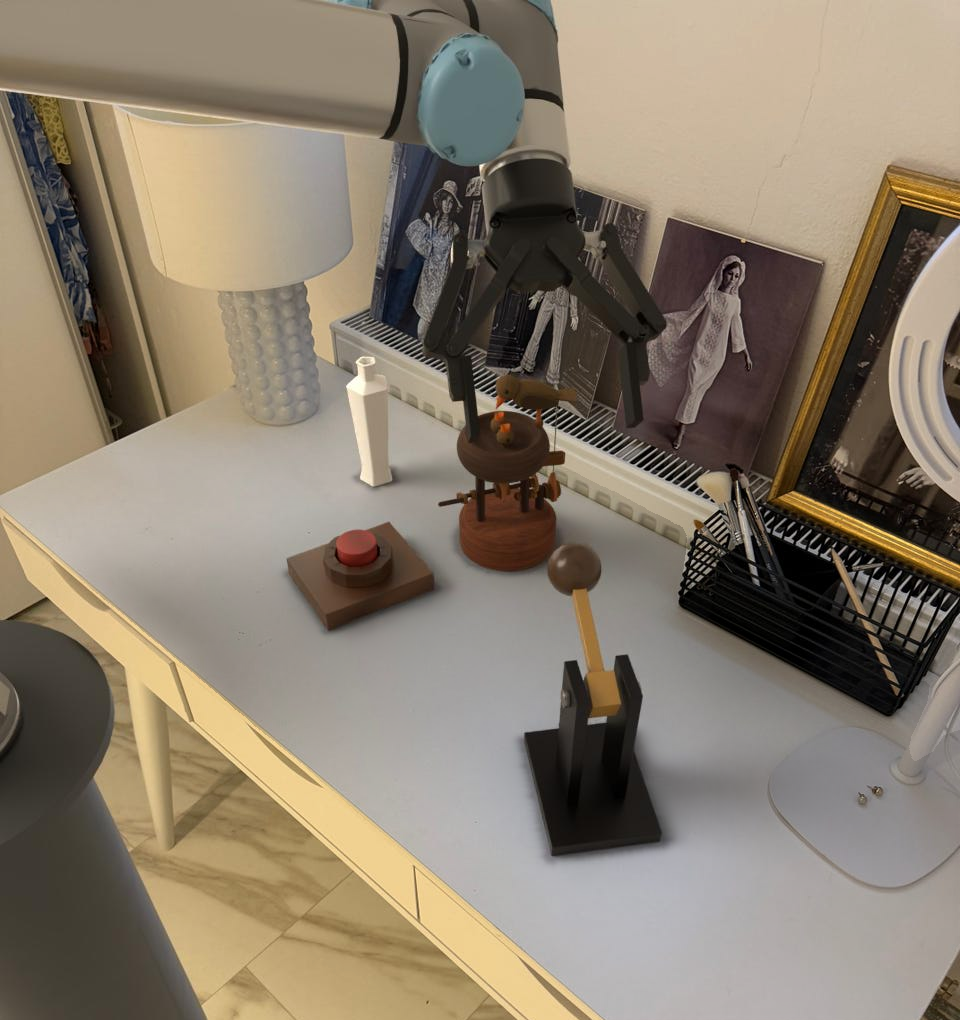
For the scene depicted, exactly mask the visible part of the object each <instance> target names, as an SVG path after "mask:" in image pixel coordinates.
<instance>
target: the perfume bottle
mask: <svg viewBox="0 0 960 1020" xmlns="http://www.w3.org/2000/svg"><path fill="white" fill-rule="evenodd" d="M355 364H356V365H357V376H355V377H354V378H353V379H351V381H349V382H348V384H346V392H347V397H348V401H349V406H350V407H349V408H350V411H351V412H350V413H351V417H352V423H353V427H354V432H355V437H356V442H357V446H358V447H357V448H358V453H359V458H360V463H361V471H360V476H359V479H360V480H361V481H362V482H364V483H366V484H368V485H369V486H371V487H378V486H381V485H385V484H389V483H391V482H393V476H392V471H391V468H390V465H389V390H388V389H389V388H388V383H387V379H386V376H385V375H382V374H378V373H377V374H376V366H375V365H376V358H375V357H374V356H361V357H359V358H358V359H357V360H356V361H355Z"/></svg>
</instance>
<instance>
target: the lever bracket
mask: <svg viewBox="0 0 960 1020" xmlns="http://www.w3.org/2000/svg"><path fill="white" fill-rule="evenodd" d="M579 665H580V664H579V662H578V659H573V660H566V661H565V660H564V662H563V670H562V671H563V673H562V683H561V690H560V707H559V718H558V728H551V729H542V730H534V731H525V732H524V734H523V743H524V748H525V751H526V756H527V759H528V764H529V768H530V773H531V776H532V780H533V785H534V789H535V793H536V797H537V801H538V805H539V810H540V813H541V818H542V822H543V827H544V831H545V835H546V838H547V842H548V848H549V852H550V855H551V856H552V857H554V856H561V855H569V854H576V853H583V852H591V851H597V850H606V849H613V848H620V847H626V846H635V845H642V844H643V845H644V844H648V843H656V842H661V839H662V835H663V832H662V830H661V827H660V826H661V825H660V823H659V820H658V818H657V814H656V812H655V809H654V806H653V803H652V802H653V801H652V800H651V797H650V794H649V791H648V788H647V785H646V782H645V779H644V776H643V773H642V769H641V767H640V765H639V761H638V758H637V755H636V752H635V746H636V740H637V733H638V727H639V721H640V718H641V717H640V716H641V710H642V704H643V698H644V695H643V691H642V686H641V683H640V681H639V680H638V679H637V676H636V673H635V670H634V668H633V665H632V662H631V660H630V657H629V655H628V654H617V655H615V657H614V664H613V665H614V666H613V670H614V672H615V677H616V681H617V686H618V690H619V695H620V699H621V706H620V708H619V710H618V712H617V714H616V715H613V716H606V722H599V723H591V724H589V718H588V716H589V708H590V700H589V697H588V694H587V691H586V688H585V684H584V681H583V680H584V677H583V675H582V672H581V669H580V666H579Z"/></svg>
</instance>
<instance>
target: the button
mask: <svg viewBox="0 0 960 1020" xmlns="http://www.w3.org/2000/svg"><path fill="white" fill-rule="evenodd" d="M365 530H366V529H351V530H347V531H345V532H343V533H342V534H340V535H341V536H340V537H339V538H338V539H337V542H336V545H337V552H338V558H339V560H340V562H341V563H343V564H344V565H346V566H349V567H362V566H365V565H368V564H370V563H372V562H373V561H374V560H375V559H376V557H377V543H376V538H375V536H374V535H373V534H372V533H370V532H368V531H365Z"/></svg>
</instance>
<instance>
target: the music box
mask: <svg viewBox="0 0 960 1020" xmlns="http://www.w3.org/2000/svg"><path fill="white" fill-rule="evenodd" d="M495 392H496V394H497V398H496V404H495V411H489V412H484V413H481V414H480V415H479V414H478V420H479V428H480V437H479V439H478V441H477V442H475V443H468V440H467V431H466V424H464V425H463V427H462V429H461V431H460V432H459V434H458V436H457V441H456V453H457V457H458V460H459V462H460V464H461V466H462V467H463V468H464V469H465V470H466V471H467V472H468V473H469V474H471V475H472V476H473V477H474V479H475V481H474V483H475V487H474V489H470V490H469V492H467V493H463V492H461V491H460V492H456V498H453V499H452V498H451V499H447V500H442V501H439V502H438V503H437V506H438V507H439V508H442V507H446V506H452V505H458V504H462V505H463V506H462V508H461V509H460V511H459V514H458V515H459V516H458V527H459V531H458V532H459V546H460V548H461V550H462V552H463V554H464V555H465V556H466V557H467V558H468V559H469V560H470V561H471V562H473V563H474V564H476V565H479V566H480V567H483V568H485V569H489V570H493V571H499V572H517V571H523V570H528V569H530V568H533V567H536V566H538V565H539V564H542V563H543V562H544V561H545V560H547V559H548V558H549V557H550V556H551V554H552V553H553V552H554V548H555V545H556V535H557V534H556V533H557V514H556V511H555V508H554V507H553V505H552V504H551V503H555V502H557V501H558V499H559V498H560V496H561V494H562V487H561V484H560V481H559V480H557V477H556V472H555V466H562V465H565V462H566V452H565V451H564V450H556V441H557V427H558V426H557V425H558V414H559V412H560V409H559V408H558V406H559V401H560V402H567V403H574V404H579V402H580V399H579V396H578V394H577V392H576V389H575V388H574V387H569V388H560V389H557V388H555V387H553V386H552V385H550V384H548V383H546V382H543V381H539V380H536V379H531V378H525V377H523V378H517V377H515V376H514V375H512V374H503V375H500V376H499V378H498V379H497V380H496V383H495ZM507 400H508V401H509V400H512V401H513V403H514V404H515V406H517V407H519V408H522V409H525V410H531V411H535V412H536V413H535V418H533V417H531V416H530V415H528V414H526V413H522V412H519V411H511V410H497V409H498V408H500V407H501V406H502V405H503V404H504V403H505V402H506V401H507ZM553 408H554V411H555V424H554V443H553V450H551V444H550V439H549V435H548V433H547V431H546V430H545V428H544V420H543V419H542V411H545V410H549V409H553ZM550 450H551V451H550ZM551 466H552V472H550V474H549V477H548V479H547V482H542V483H541V484H540V483H539V477H538V475H537V473H539V472H540V470H542V468H543V467H551ZM486 482H487V483H492V487H491V488H487V489H486ZM549 501H550V502H551V503H550V502H549Z"/></svg>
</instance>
